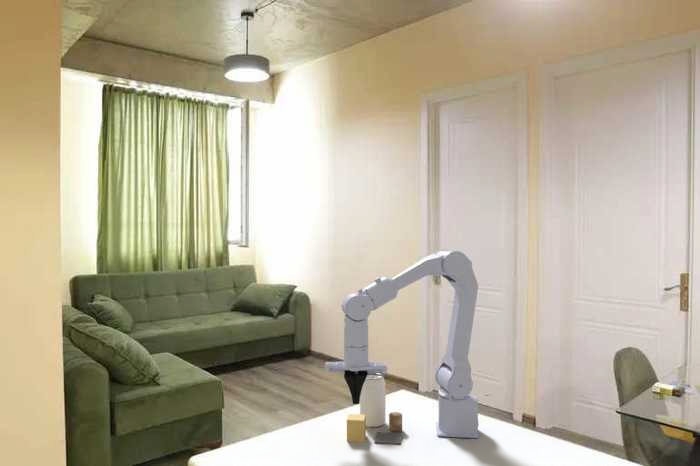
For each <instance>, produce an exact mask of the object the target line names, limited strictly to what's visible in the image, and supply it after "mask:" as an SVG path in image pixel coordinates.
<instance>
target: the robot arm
mask: <svg viewBox="0 0 700 466" xmlns="http://www.w3.org/2000/svg"><path fill="white" fill-rule="evenodd" d="M427 276H439V277H440V276H441V277H443V278H444V279H445V280H447V281H448V283H449V284H450V285H451V286H452V288H453V289H454V295H453V296H454V297H453V302H452V304H453V305H452V309H451V316H450V323H449V330H448V337H447V344H446V350H445V353H444V354H443V356H442V357H441V360H440V364H439V366H438V368H437V369H436V370H435V374H434V376H435V381H436V384H437V385H438V386H439V388H438V389H439V390H438V421H437V422H436V435H437V436H438V437H447V438H449V437H450V438H467V439H478V438H479V407H478V406H479V404H478V397H477V396H476V395H471V392H472V390H473V388H474V387H473V379H472V376H471V375H472V367H471V364H470V361H469V352H470V345H471V338H472V332H473V331H472V330H473V327H474V326H473V324H474V317H475V310H476V304H477V297H478V291H479V283H478V280H477V278H476V275H475V273H474V270H473V262H472V260H471V259H469V257H468V256H467V255H466V254H465V253H464V252H461V251H459V250H448V249H441V250H438V251H436V252H435V253H432V254H429V255H427V256H425V257H424V258H422V259H420V260H419V261H418V262H416V263H414V264H413V265H411V266H409V267H407V268H406V269H404V270H403V271H401V272H400V273H398V274H396V275H395V276H394V277H392V278H389V277H387V276H384V277H379V276H378V277H376V278H374V279H373V280H374V282H372V283H370V284H369V285H367V286H366V287H364V288H362V287H360V288H358V289H357V290H356V291H357V293H350V294H348V295H346V297H345V298H344V299H343V300H342V301H343V302H342V304H341V309H342V312H343V313H344V321H343V322H344V324H343V361H326V362H325V364H324V370H325V371H324V373H330V372H334V373H335V372H337V373H338V372H340V373H342V372H343V373H344V375H343V378H344V380H345V383H346V384H347V387H348V389H349V392H350V395H351V399H352V404H353V405H360V395H361V390H362V387H363V384H364V382H365V379H366V377H367V374H368V373H377V374H381V375H387V374H388V363H380V362H373V361H372V362H370V361H369V325H368V324H369V322H368V321H369V320H368V318H369V316H370V314H371V312H373V311H376V310H377V309H379V308H381V307H382V306H384V305H386V304H387V303H389V302H391V301H393V300H395V299H397V295H398V293H399V291H400V290H401V289H403V288H404V289H405V288H406V287H407V286H410V285H411V284H413V283H416V282H417V281H419V280H421V279H423V278H425V277H427Z"/></svg>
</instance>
